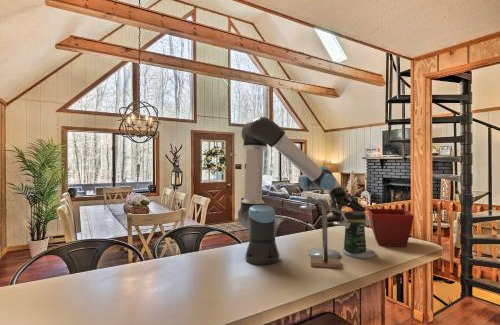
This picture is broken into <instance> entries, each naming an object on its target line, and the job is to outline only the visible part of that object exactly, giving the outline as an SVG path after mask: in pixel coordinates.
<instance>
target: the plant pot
mask: <svg viewBox="0 0 500 325" xmlns="http://www.w3.org/2000/svg"><path fill="white" fill-rule="evenodd" d="M367 214H368V219H369V220H370V221H371V223H370V226H371V230H372V234H373V235H374V239H375V241H376V243H377V245H378V246H383V247H384V246H385V247H387V246H388V247H407V244H408V241H409V238H410V235H411V231H412V228H413V221H414V214H413V213H411V212H410V211H407V210H406V209H403V208H401V209H400V208H399V209H398V208H368V209H367Z"/></svg>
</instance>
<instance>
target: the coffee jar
mask: <svg viewBox="0 0 500 325" xmlns="http://www.w3.org/2000/svg"><path fill="white" fill-rule="evenodd" d="M343 214H344V216H345V217H346V219H347V220H348V222H350V223H351V225H350V226H349V228H348V229H346V227H345V226H344V227H345V229H344V239H343V240H344V241H343V249H345V250H346V251H348V252H353V253H359V252H365V251H366V248H367V241H366V232H365V231H366V230H365V227H366V224H365V222H366V217H365V216H366V215H367V214H366V213H364V212H361V211H355V210H349V211H345V212H344V213H343ZM365 214H366V215H365Z"/></svg>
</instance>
